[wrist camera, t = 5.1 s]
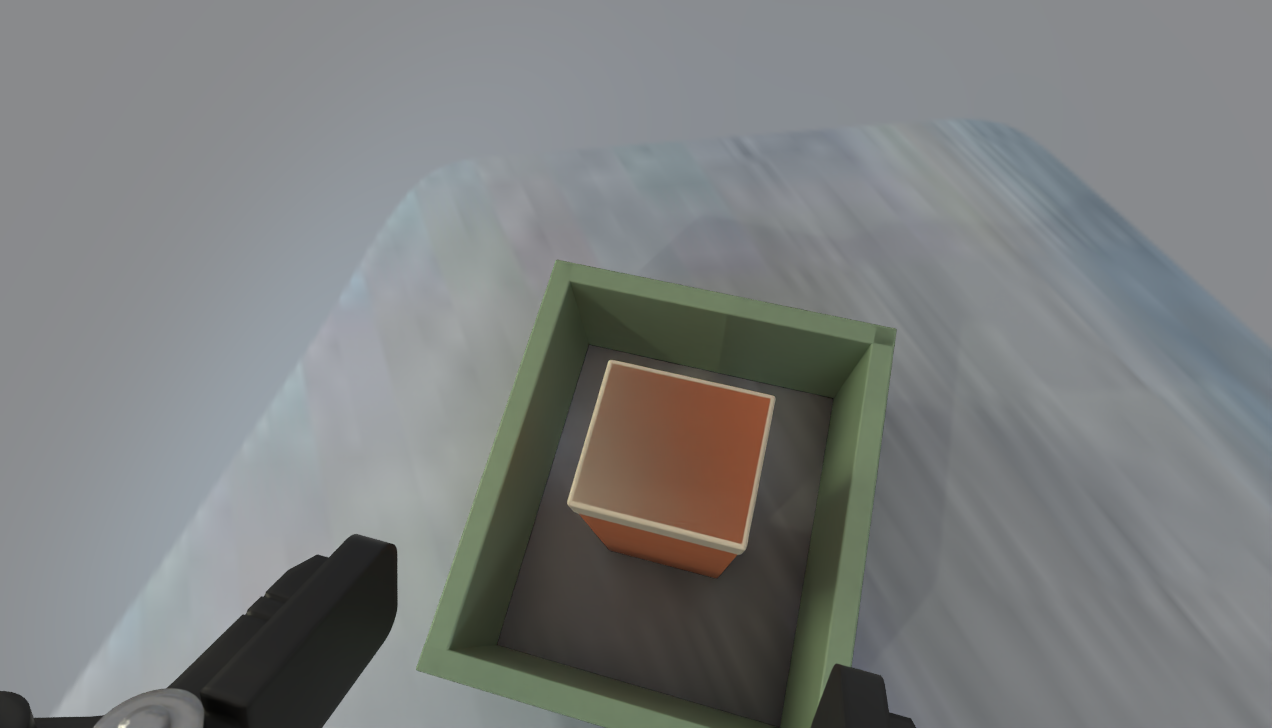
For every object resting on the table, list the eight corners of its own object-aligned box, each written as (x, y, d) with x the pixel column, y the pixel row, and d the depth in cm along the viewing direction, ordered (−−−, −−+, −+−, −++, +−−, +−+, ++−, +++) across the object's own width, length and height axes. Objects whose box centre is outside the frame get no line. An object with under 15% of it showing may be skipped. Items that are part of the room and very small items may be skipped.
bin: (854, 385, 29) (897, 328, 24) (797, 758, 24) (834, 797, 19) (577, 325, 31) (555, 258, 25) (471, 661, 26) (414, 670, 20)
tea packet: (739, 480, 28) (776, 395, 18) (718, 580, 26) (746, 551, 16) (632, 454, 29) (608, 357, 18) (606, 551, 27) (565, 504, 17)
